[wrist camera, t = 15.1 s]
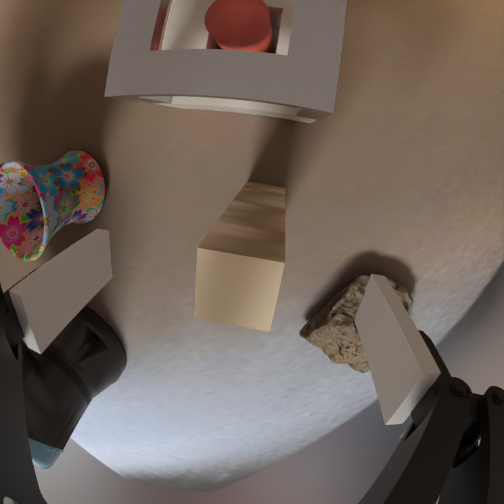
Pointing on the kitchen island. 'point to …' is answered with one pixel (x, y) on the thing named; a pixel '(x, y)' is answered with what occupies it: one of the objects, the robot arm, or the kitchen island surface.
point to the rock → (345, 324)
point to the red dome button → (240, 25)
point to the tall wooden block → (243, 260)
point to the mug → (47, 200)
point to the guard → (230, 62)
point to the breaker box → (197, 37)
